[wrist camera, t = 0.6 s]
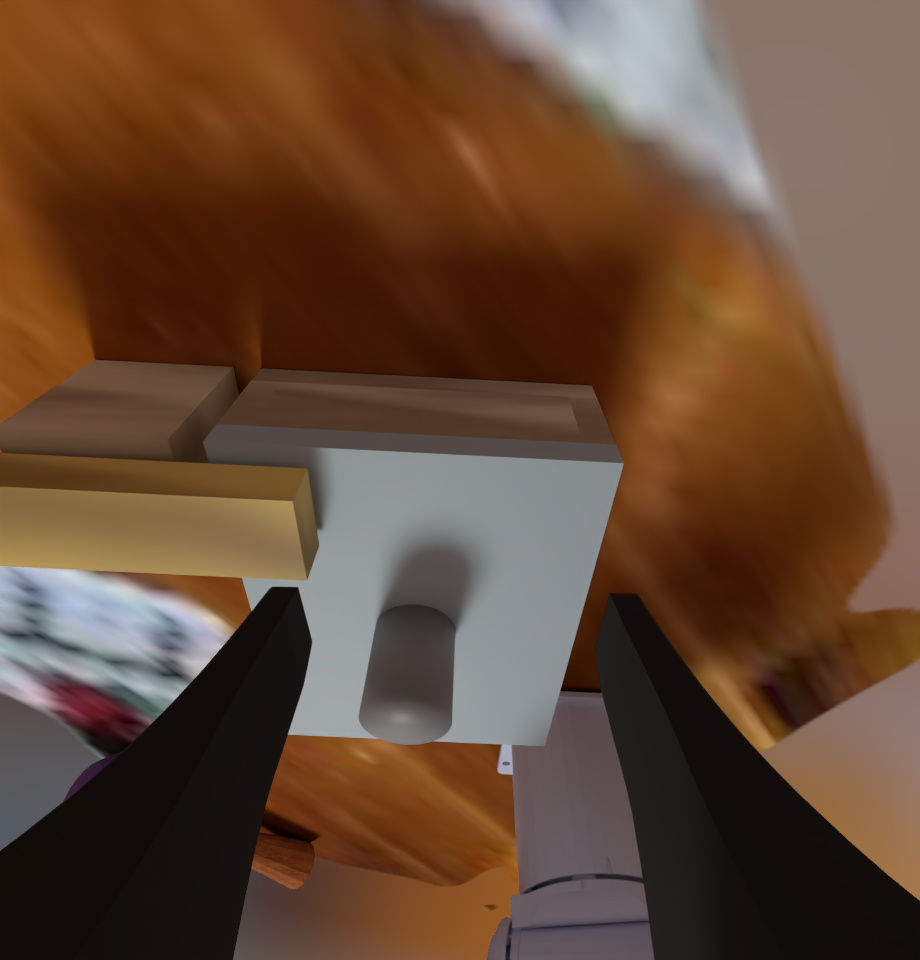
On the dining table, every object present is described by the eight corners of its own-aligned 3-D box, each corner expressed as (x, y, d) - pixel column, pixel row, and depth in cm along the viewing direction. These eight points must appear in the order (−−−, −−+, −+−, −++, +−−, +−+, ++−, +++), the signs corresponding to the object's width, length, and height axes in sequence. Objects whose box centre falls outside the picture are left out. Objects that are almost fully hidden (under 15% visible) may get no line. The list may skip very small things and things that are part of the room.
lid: (540, 706, 26) (553, 831, 22) (298, 694, 26) (262, 818, 21) (609, 427, 17) (658, 548, 12) (229, 408, 16) (139, 522, 12)
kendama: (261, 906, 43) (19, 843, 32) (288, 822, 47) (81, 741, 36) (312, 913, 40) (65, 847, 29) (335, 823, 44) (127, 735, 33)
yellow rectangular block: (319, 545, 17) (307, 580, 15) (3, 530, 17) (-34, 564, 15) (307, 468, 15) (292, 501, 14) (-47, 450, 15) (-93, 481, 14)
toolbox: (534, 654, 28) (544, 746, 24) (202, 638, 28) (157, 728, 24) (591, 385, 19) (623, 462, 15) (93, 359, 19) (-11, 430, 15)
